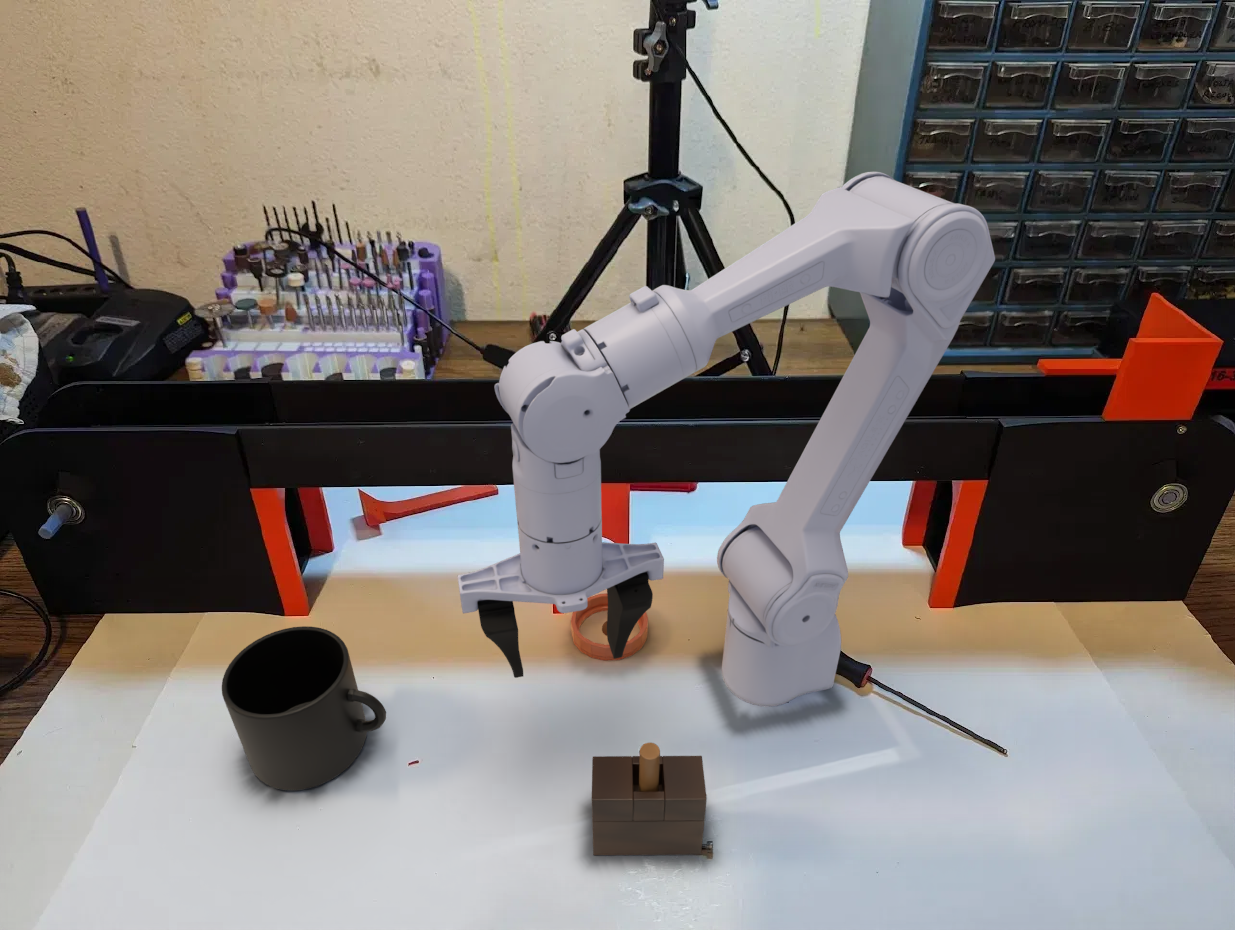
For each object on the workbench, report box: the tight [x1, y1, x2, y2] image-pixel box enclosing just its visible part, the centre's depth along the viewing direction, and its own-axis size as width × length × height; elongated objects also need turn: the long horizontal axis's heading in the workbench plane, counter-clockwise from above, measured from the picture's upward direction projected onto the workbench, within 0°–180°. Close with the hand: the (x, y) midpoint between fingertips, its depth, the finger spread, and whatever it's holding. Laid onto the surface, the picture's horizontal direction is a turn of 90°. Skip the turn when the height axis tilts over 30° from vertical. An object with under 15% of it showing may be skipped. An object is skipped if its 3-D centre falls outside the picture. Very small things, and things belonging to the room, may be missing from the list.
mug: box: [221, 625, 387, 791], centre depth 65 cm, size 9×12×9 cm
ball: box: [601, 620, 607, 637], centre depth 77 cm, size 2×2×2 cm
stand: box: [591, 755, 708, 856], centre depth 59 cm, size 8×4×7 cm, turn 90°
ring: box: [570, 592, 649, 662], centre depth 77 cm, size 7×7×3 cm
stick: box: [639, 742, 661, 792], centre depth 57 cm, size 1×1×6 cm
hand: (566, 658), depth 62 cm, fingers open, 7 cm apart
